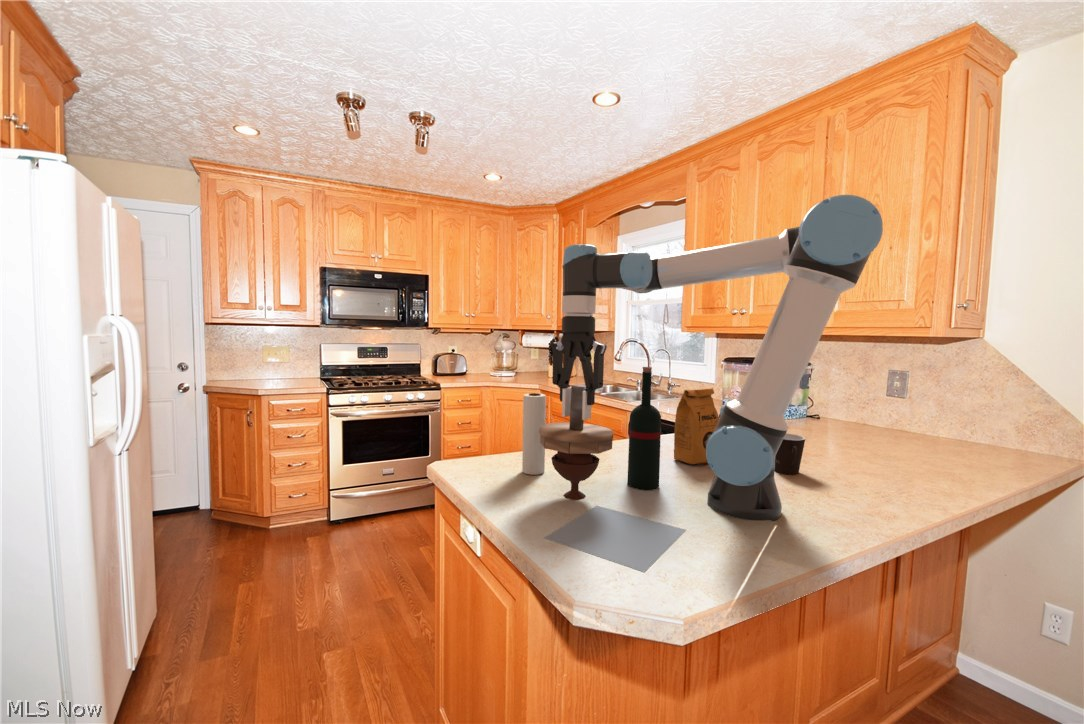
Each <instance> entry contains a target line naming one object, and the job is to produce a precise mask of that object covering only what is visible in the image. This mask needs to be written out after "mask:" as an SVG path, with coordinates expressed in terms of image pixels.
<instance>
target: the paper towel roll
mask: <svg viewBox="0 0 1084 724" xmlns="http://www.w3.org/2000/svg"><path fill="white" fill-rule="evenodd" d="M546 399H547V395H546V394H544V393H540V392H536V393H535V392H534V393H533V392H531V393H524V394H523V400H522V403H523V404H522V405H523V406H522V407H523V409H522V464H521V465H522V467H521V468H522V473H524V474H527V475H530V476H531V475H533V476H534V475H535V476H537V475H541V474H543V473H545V468H546V465H545V464H546V461H545V460H546V448H544V447H543V446H542V444H541V443H540V434H539V427H540V426H541V425H544V424H546V418H547V417H546V413H547V412H546V410H547V409H546V405H547V404H546V403H547V401H546Z"/></svg>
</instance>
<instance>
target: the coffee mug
mask: <svg viewBox="0 0 1084 724" xmlns="http://www.w3.org/2000/svg"><path fill="white" fill-rule="evenodd" d="M805 441H806V437H804V436H802V435H799V434H793V433H789V432H788V433H787V432H786V434H785V436H784V439H783V441H782V443H781V445H780V447H779V449H778V451H777V454H776V456H775V471H774V473H777V474H781V475H786V476H796V475H799V472H800V467H801V463H802V457H803V452H804V447H805V443H806V442H805Z"/></svg>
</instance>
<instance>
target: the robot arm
mask: <svg viewBox="0 0 1084 724" xmlns="http://www.w3.org/2000/svg"><path fill="white" fill-rule="evenodd" d="M882 218H883V217H882V215H881V213H880V211H879V209H878V207H876V206H875V204H873V203H872V202H871V201H870V200H868V199H866V198H864V197H861V196H859V195H854V194H837V195H834V196H830V197H828V198H825V199H823V200H822V201H819V202H817V204H815V205H814V206H812V207H811V208H810V209H809V210H808V212H807V213H806V214H805V215H804V217H803V218H802V220H801V222H800V224H799V226H796V227H792V228H785V229H784V231H783V232H781V234H779V235H775V236H768V237H764V238H763V237H762V238H758V239H751V240H746V241H740V242H735V243H728V244H723V245H717V246H712V247H706V248H700V249H696V250H689V251H684V252H678V253H670V254H667V255H665V254H664V255H661V256H660V255H659V256H656V257H655V256H654V257H651V256H650V254H649V253H648V252H646V251H634V250H633V251H632V250H631V251H627V252H613V253H598V248H597V247H596V246H595V245H592V244H581V243H580V244H577V243H576V244H570V245H568V246H566V248H564V251H563V262H562V302H561V314H563V315H564V316H562V317H561V332H562V335H561V338H560V340H558V341H555V342H551V344H550V347H551V350H552V380H551V381H552V384H553V385H555V386H557V387H559V402H561V417H563V418H565V417H570V405H571V387H570V386H571V384H570V381H571V379H572V378H571V377H572V373H573V370H574V369H573V368H574V364H575V361H576V359H577V357H578V359H579V361H580V364H581V369H582V374H583V379H584V386H585V389H584V390H585V391H583V403H582V420H584V421H587V420H589V419H592V406H594V405H595V402H596V401H595V397H596V390H598V389H603V387H604V367H605V365H604V364H605V353H606V351H607V347H608V346H607V344H604V343H599V342H597V341H596V338H595V332H596V318H595V316H594V315H595V314H596V305H597V304H596V303H597V301H596V300H597V297H596V296H597V289H599V290H600V289H622V290H626V291H631V292H635V293H636V294H648V293H651V292H653V291H658V290H659V291H660V290H665V289H669V288H671V289H672V288H677V287H683V286H684V287H685V286H692V285H699V284H706V283H707V284H708V283H714V282H715V283H716V282H721V281H722V282H723V281H728V280H735V279H742V278H750V277H756V276H758V277H759V276H763V275H765V276H766V275H771V274H777V273H778V274H779V273H784V274H785V275H787V276H788V281H787V284H786V286H785V289H784V290H783V293H782V294H781V297H780V299H779V302H778V305H777V306H776V309H775V311H774V314H773V316H772V318H771V320H770V323H769V324H768V327H767V329H766V332H765V335H763V339H762V341H761V343H760V345H759V348H758V350H757V353H756V356H754V359H753V362H752V364H751V366H750V368H749V372H747V373H748V374H747V375H746V377H745V380H744V383H743V385H742V387H741V390H740V391H739V393H738V397H736V398H735V399H732V400H729V401H726V403H725V404H724V405H722V406H720V409H719V414H718V416H719V421H718V423H717V426H716V428H715V430H714V432H713V433H712V435H711V436H710V437H709V439H708V441H707V444H706V458H707V461H708V463H707V464H708V466H709V468H710V470H711V471H712V472H713V473H714V474H715V475H714V477H713V480H712V481H711V484H710V485H711V486H709V490H708V493H707V505H708V507H710V508H711V509H712V510H714V511H716V512H719V513H720V514H723V515H726V516H729V517H732V518H736V519H741V520H746V521H747V520H749V521H760V522H761V521H775V520H778V519H779V518H781V516H782V502H781V498H780V494H779V491H778V488H777V484H776V480H775V456H776V454H777V451H778V449H779V447H780V445H781V443H782V441H783V439H784V436H785V434H786V433H787V432H788V430H789V426H788V424H787V422H786V420H785V415H786V412H787V410H788V408H789V406H790V404H791V401H792V400H793V398H794V395H795V393H796V392H797V389H798V387H799V384H800V382H801V380H802V378H803V376H804V374H805V372H806V370H807V367H808V365H809V363H810V361H811V359H812V356H813V355H814V352H815V350H816V348H817V346H818V345H819V341H820V339H821V337H822V335H823V333H824V330H825V328H826V326H827V324H828V321H829V320H830V318H831V317H832V314H833V312H834V309H835V307H836V306H837V303H838V301H839V298H840V296H841V294H843V293H845V292H846V291H849V290H851V289H853V288H855V287H856V286H857V283H858V281H859V279H860V277H861V275H862V274H863V273H862V272H863V271H864V269H865V266H866V265H867V262H868V261H869V257H870V256H871V253H872V252H874V250H875V249H876V248H877V247H878V245H879V244H880V241H881V239H882V236H883V232H884V231H883V226H884V225H883V219H882ZM563 349H564V350H565V351H564V350H563ZM592 350H593V352H594V353H593V359H592V353H591V352H592ZM563 351H564V352H563ZM592 360H593V362H592Z"/></svg>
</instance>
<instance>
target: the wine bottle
mask: <svg viewBox="0 0 1084 724" xmlns="http://www.w3.org/2000/svg"><path fill="white" fill-rule="evenodd" d="M652 368H653V367H651V366H642V377H641V401H640V402H641V404H638V405H636V406H635V407H634V408H633V409H632V410H631V412H630V415H629V422H628V424H627V434H628V456H627V458H628V459H627V482H626V483H627V486H628V487H629V488H631V489H634V490H635V489H636V490H640V491H655V490H658V489H659V487H660V470H661V469H660V468H661V437H662V436H661V432H662V429H661V427H662V415H661V413H660V411H659V410H658V408H657V407H656V406H653V405H652V404H651V400H652V399H651V398H652V370H653V369H652Z"/></svg>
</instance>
